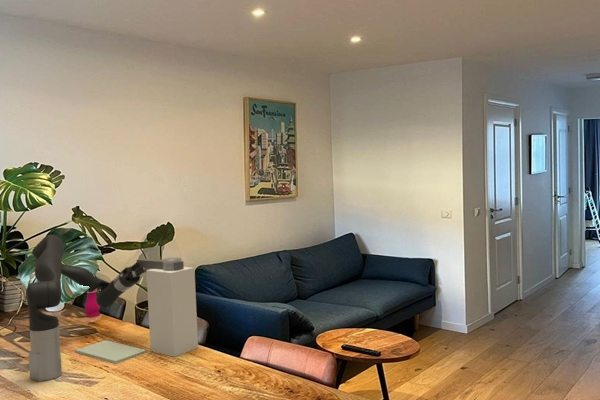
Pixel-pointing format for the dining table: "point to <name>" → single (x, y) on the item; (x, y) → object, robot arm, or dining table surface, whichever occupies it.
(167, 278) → the tower
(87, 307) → the pepper mill
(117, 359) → the assembly mat
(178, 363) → the dining table surface
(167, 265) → the gray mallet
